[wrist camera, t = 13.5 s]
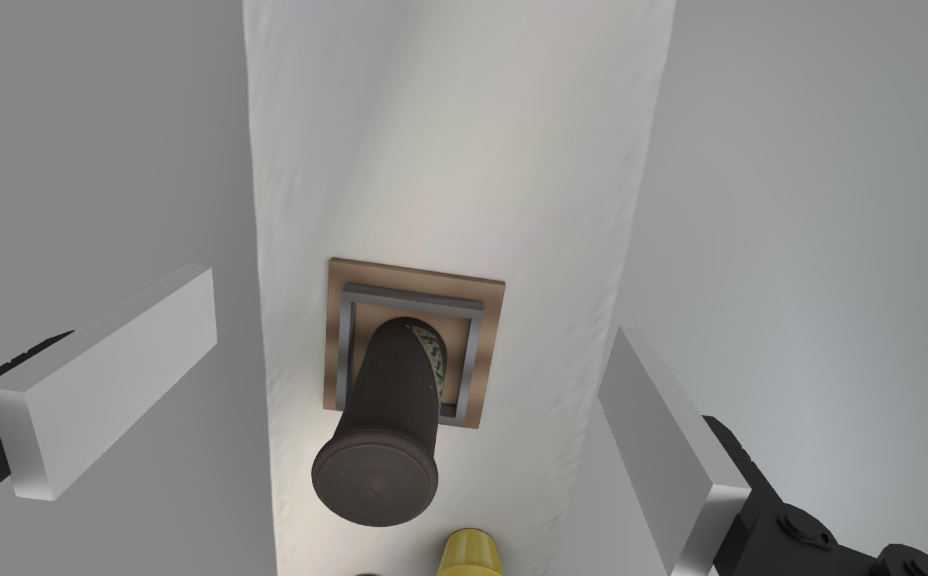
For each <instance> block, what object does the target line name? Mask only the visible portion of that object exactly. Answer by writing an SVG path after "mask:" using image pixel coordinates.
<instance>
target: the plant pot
mask: <svg viewBox="0 0 928 576" xmlns="http://www.w3.org/2000/svg"><path fill="white" fill-rule="evenodd" d="M435 576H504V575H503V571H502V568H501V564H500V560H499V556H498V553H497V549H496V545H495V542H494V540H493V539H492V538H491V537H490V536H489V535H488V534H487V533H485V532H483V531H481V530H477V529H463V530H459V531H457V532H455V533H454V534H452V535H451V536H450V537H449V539H448V540H447V543H446V546H445V549H444V552H443V556H442V559H441V562H440V565H439V568H438V571H437V574H436V575H435Z"/></svg>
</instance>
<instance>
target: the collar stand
mask: <svg viewBox="0 0 928 576" xmlns="http://www.w3.org/2000/svg"><path fill="white" fill-rule="evenodd" d="M504 290H505V282H502V281H495V280H488V279H481V278H474V277H467V276H460V275H453V274H446V273H439V272H432V271H425V270H417V269H410V268H403V267H396V266H389V265H382V264H375V263H368V262H361V261H354V260H347V259H340V258H332V259H331V260H330V261H329V279H328V303H327V328H326V353H325V377H324V402H323V409H328V410H336V411H344V409H345V406H346V403H347V401H348V398H349V396H350V393H351V391H352V388H353V385H354V383H355V380H356V378H357V375H358V372H359V370H360V367H361V364H362V362H363V359H364V356H365V353H366V350H367V347H368V345H369V342H370V340H371V338H372V336H373V334H374V332H375V331H376V330H377V328H378V327H380V326H381V325H382V324H383V323H385V322H387V321H389V320H392V319H395V318H401V317H410V318H415V319H418V320H421V321H423V322H425V323H427V324H429V325H430V326H432V327H433V328H434V329H435V330H436V331H437V332H438V333H439V334H440V336H441V337H442V339H443V340H444V342H445V345H446V349H447V356H448V359H447V365H446V372H445V379H444V386H443V393H442V400H441V407H440V414H439V421H438V424H442V425H449V426H457V427H465V428H472V429H478V428H479V423H480V418H481V412H482V407H483V402H484V396H485V391H486V386H487V381H488V375H489V370H490V365H491V359H492V354H493V349H494V343H495V338H496V333H497V327H498V322H499V317H500V311H501V306H502V301H503V296H504Z"/></svg>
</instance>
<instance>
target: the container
mask: <svg viewBox="0 0 928 576" xmlns="http://www.w3.org/2000/svg"><path fill="white" fill-rule="evenodd" d="M447 359H448V356H447V349H446V345H445V342H444V340H443V339H442V337H441V336H440V334H439V333H438V332H437V331H436V330H435V329H434V328H433V327H432V326H430V325H429V324H427V323H425V322H423V321H421V320H418V319H415V318H410V317H401V318H395V319H392V320H389V321H387V322H385V323H383V324H382V325H381V326H380V327H378V328H377V330H376V331H375V332H374V334H373V336H372V338H371V340H370V342H369V345H368V347H367V350H366V353H365V356H364V359H363V362H362V364H361V367H360V370H359V372H358V375H357V378H356V380H355V383H354V385H353V388H352V391H351V393H350V396H349V398H348V401H347V403H346V406H345V409H344V411H343V414H342V416H341V419H340V421H339V424H338V426H337V428H336V430H335V433H334V435H333V437H332V439H331V440H329V441H328V442H327V443H326V444H325V445H324V446H323V447H322V448H321V450H320V451H319V452H318V454H317V456H316V458H315V460H314V463H313V466H312V472H311V477H312V483H313V487H314V490H315V492H316V494H317V496H318V497H319V499H320V500H321V501H322V502H323V503H324V505H325V506H326V507H328V508H329V509H330V510H331V511H332V512H334V513H335V514H337V515H338V516H340V517H342V518H344V519H346V520H348V521H351V522H353V523H356V524H360V525H364V526H371V527H388V526H394V525H399V524H402V523H405V522H408V521H410V520H412V519H413V518H415V517H417V516H418V515H420V514H421V513H422V512H423V511H424V510H425V509H426V508H427V507H428V506H429V505H430V503H431V502H432V500H433V498H434V496H435V493H436V491H437V487H438V470H437V466H436V463H435V460H434V450H435V443H436V434H437V428H438V421H439V414H440V407H441V400H442V393H443V386H444V379H445V372H446V365H447Z"/></svg>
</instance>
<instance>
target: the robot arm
mask: <svg viewBox="0 0 928 576" xmlns="http://www.w3.org/2000/svg"><path fill="white" fill-rule="evenodd" d="M213 293H214V292H213V279H212V267H206V266H199V265H192V264H186V265H184V266H183V267H181V268H179V269H178V270H176V271H175V272H173V273H171V274H169V275H168V276H166V277H164V278H163V279H161V280H159V281H158V282H156V283H155V284H153V285H151V286H150V287H148V288H146V289H145V290H143V291H141V292H140V293H138V294H136V295H134V296H133V297H131V298H129V299H128V300H126V301H124V302H123V303H121V304H119V305H118V306H116V307H114V308H113V309H111V310H109V311H108V312H106V313H104V314H103V315H101V316H99V317H98V318H96V319H94V320H93V321H91V322H89V323H88V324H86V325H84V326H83V327H81V328H80V329H78V330H76V331H75V330H72V331H69V332H66V333H63V334H61V335H57V336H55V337H52V338H49V339H47V340H45V341H43V342H41V343H40V344H38V345H36V346H35V347H33V348H31V349H29V350H28V352H27V353H23V354H21V355H19V356H17V357H16V358H14V359H12V360H11V362H10V363H8V362H7V363H5V364H3V365H2V366H0V482H2V481H3V480H4V479H5V478H6V477H8V476H9V475H10V477H11V480H12V483H13V487H14V490H15V493H16V496H18V497H25V498H33V499H41V500H49V501H55V500H56V499H57V497H59V496H60V495H61V494H62V493H63V492H64V491H65V490H66V489H67V488H68V487H69V486H70V485H71V484H72V483H73V482H74V481H75V480H76V479H77V478H78V477H79V476H80V475H81V474H82V473H83V472H84V471H86V469H88V467H90V466H91V465H92V464H93V463H94V462H95V461H96V460H97V459H98V458H99V457H100V456H101V455H102V454H103V453H104V452H105V451H106V450H107V449H108V448H109V447H110V446H111V445H112V444H113V443H114V442H115V441H116V440H117V439H118V438H119V437H120V436H122V435H123V433H125V432H126V431H127V430H128V429H129V428H130V427H131V426H132V425H133V424H134V423H135V422H136V421H137V420H138V419H139V418H140V417H141V416H142V415H143V414H144V413H145V412H146V411H147V410H148V409H149V408H150V407H151V406H153V405H154V403H156V402H157V401H158V399H160V398H161V397H162V396H163V395H164V394H165V393H166V392H167V391H168V390H169V389H170V388H171V387H172V386H173V385H174V384H175V383H176V382H177V381H178V380H179V379H180V378H181V377H182V376H183V375H184V374H185V373H187V371H189V369H191V368H192V367H193V366H194V365H195V364H196V363H197V362H198V361H199V360H200V359H201V358H202V357H203V356H204V355H205V354H206V353H207V352H208V351H209V350H210V349H211V348H212V347H213V346H214V345H215V344H216V343H217V333H216V320H215V306H214V294H213ZM598 397H599V400H600V403H601V405H602V407H603V410H604V413H605V415H606V418H607V421H608V423H609V426H610V428H611V431H612V434H613V436H614V439H615V441H616V444H617V446H618V449H619V452H620V454H621V457H622V459H623V462H624V464H625V467H626V470H627V472H628V475H629V477H630V480H631V483H632V485H633V488H634V490H635V493H636V496H637V498H638V500H639V503H640V506H641V508H642V511H643V514H644V516H645V519H646V521H647V524H648V527H649V529H650V532H651V534H652V537H653V539H654V542H655V545H656V547H657V550H658V552H659V555H660V558H661V560H662V563H663V565H664V568H665V570H666V573H667V575H668V576H708V573H709V572H710V570H711V568H712V566H713V564H714V566H715V568H716V570H717V572H718V574H719V576H928V554H926V553H924V552H922V551H920V550H918V549H915V548H912V547H909V546H906V545H902V544H889V545H888V546H887V547H885V548H884V549H883V550H882V552H881V553H880V555H879V556H878V558H874V557H872V556H869V555H866V554H863V553H861V552H858V551H855V550H852V549H850V548H847V547H844V546H842V545H839V544H838V543H837V541H836V539H835V538H834V536H833V535H832V533H831V532H830V531H829V530H828V529H827V528H826V527H825V526H824V525H823V524H822V523H820V521H819V520H817V519H816V518H814V517H813V516H811V515H810V514H808V513H807V512H805V511H804V510H802V509H799V508H797V507H795V506H793V505H790V504H786V503H783V501H782V500H781V498H780V497H779V496H778V494H777V493H776V492H775V490H774V489H773V488H772V486H771V485H770V484H769V482H768V481H767V479H766V478H765V477H764V475H763V474H762V473H761V471H760V470H759V469H758V468H757V466H756V464H755V463H754V462H753V461H751V458H750V456H749V455H748V454H747V452H746V451H745V450H744V449H742V445H741V444H740V443H739V441H738V440H737V439H736V437H735V436H734V435H733V433H732V432H731V431H730V430H729V429H728V428H727V427H725V426H724V425H723V424H722V423H721V422H719V421H718V420H717V419H716V418H714V417H711V416H704V415H701V414H700V412H699V411H698V410H697V408H696V407H695V405H694V404H693V402H692V401H691V399H690V398H689V396H688V395H687V393H686V392H685V390H684V389H683V388H682V386H681V385H680V383H679V382H678V380H677V379H676V377H675V376H674V374H673V373H672V371H671V370H670V368H669V367H668V365H667V364H666V363H665V361H664V360H663V358H662V357H661V355H660V354H659V352H658V351H657V349H656V348H655V346H654V345H653V343H652V342H651V341H650V339H649V338H648V336H647V335H646V333H645V332H644V330H643V329H642V328H635V327H628V326H620V325H619V327H618V331H617V334H616V337H615V340H614V344H613V347H612V350H611V353H610V357H609V360H608V363H607V367H606V370H605V373H604V376H603V379H602V383H601V386H600V389H599V393H598Z"/></svg>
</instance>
